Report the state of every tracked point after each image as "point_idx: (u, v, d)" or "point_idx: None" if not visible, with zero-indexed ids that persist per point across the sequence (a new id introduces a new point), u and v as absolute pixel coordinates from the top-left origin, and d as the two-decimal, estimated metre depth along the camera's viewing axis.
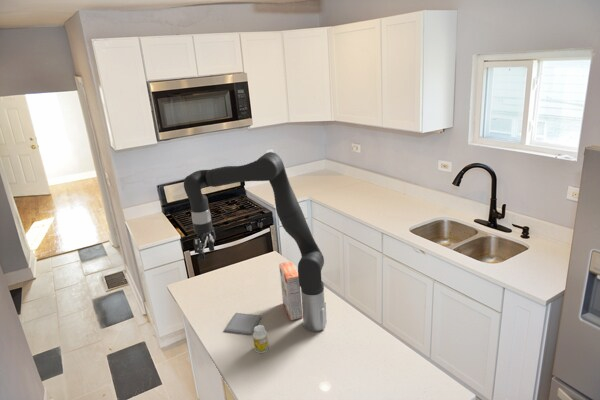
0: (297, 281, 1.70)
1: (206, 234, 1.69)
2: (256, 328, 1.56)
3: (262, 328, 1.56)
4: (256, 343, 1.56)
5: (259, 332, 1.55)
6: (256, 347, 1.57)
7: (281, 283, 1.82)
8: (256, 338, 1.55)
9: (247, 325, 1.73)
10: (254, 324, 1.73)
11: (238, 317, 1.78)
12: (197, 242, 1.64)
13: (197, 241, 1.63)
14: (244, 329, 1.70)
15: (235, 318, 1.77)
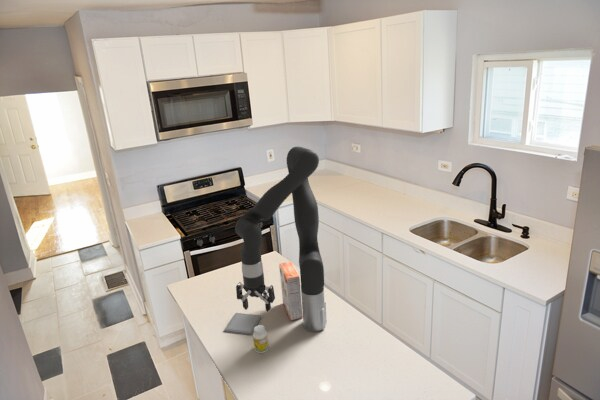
0: (297, 281, 1.70)
1: None
2: (256, 328, 1.56)
3: (262, 328, 1.56)
4: (256, 343, 1.56)
5: (259, 332, 1.55)
6: (256, 347, 1.57)
7: (281, 283, 1.82)
8: (256, 338, 1.55)
9: (247, 325, 1.73)
10: (254, 324, 1.73)
11: (238, 317, 1.78)
12: (272, 288, 1.49)
13: (272, 287, 1.49)
14: (244, 329, 1.70)
15: (235, 318, 1.77)
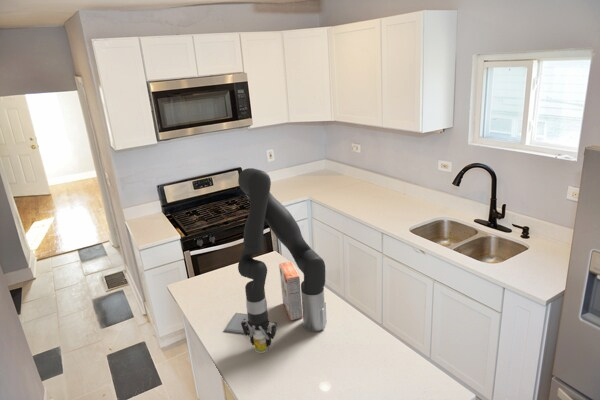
0: (297, 281, 1.70)
1: None
2: None
3: None
4: (256, 343, 1.56)
5: (259, 332, 1.55)
6: (256, 347, 1.57)
7: (281, 283, 1.82)
8: (256, 338, 1.55)
9: None
10: None
11: (238, 317, 1.78)
12: None
13: (276, 325, 1.55)
14: None
15: (235, 318, 1.77)
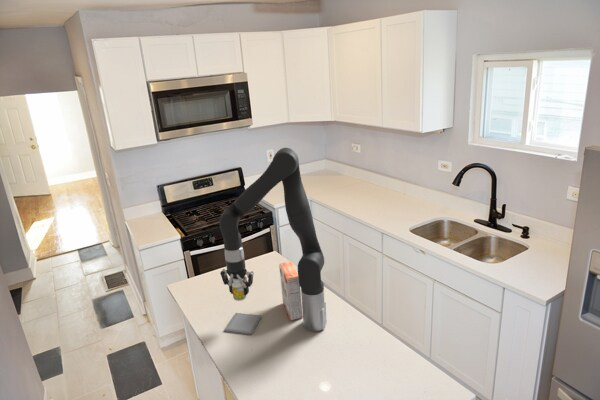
0: (297, 281, 1.70)
1: None
2: None
3: None
4: (234, 291, 1.66)
5: (237, 280, 1.65)
6: (234, 295, 1.67)
7: (281, 283, 1.82)
8: (234, 286, 1.66)
9: (247, 325, 1.73)
10: (254, 324, 1.73)
11: (238, 317, 1.78)
12: (252, 274, 1.65)
13: (252, 273, 1.65)
14: (244, 329, 1.70)
15: (235, 318, 1.77)
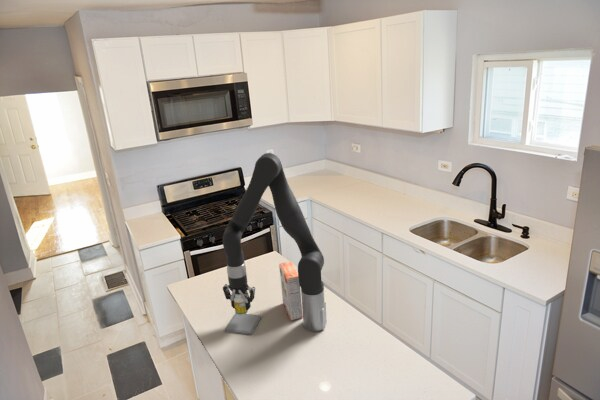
0: (297, 281, 1.70)
1: None
2: None
3: None
4: (236, 306, 1.69)
5: (239, 296, 1.68)
6: (236, 310, 1.70)
7: (281, 283, 1.82)
8: (236, 301, 1.68)
9: (247, 325, 1.73)
10: (254, 324, 1.73)
11: (238, 317, 1.78)
12: (254, 290, 1.68)
13: (254, 289, 1.68)
14: (244, 329, 1.70)
15: (235, 318, 1.77)
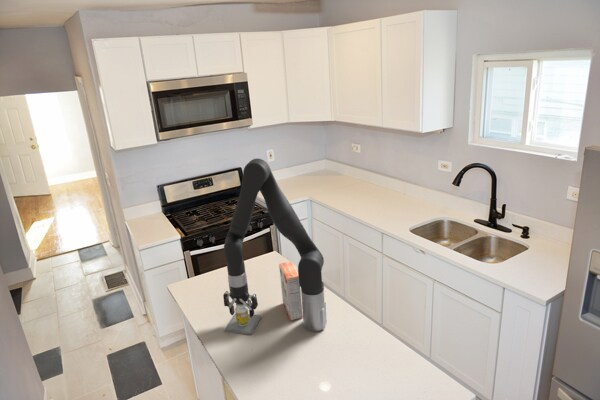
0: (297, 281, 1.70)
1: None
2: None
3: None
4: (238, 317, 1.71)
5: (240, 306, 1.70)
6: (238, 320, 1.72)
7: (281, 283, 1.82)
8: (238, 312, 1.70)
9: (247, 325, 1.73)
10: (254, 324, 1.73)
11: None
12: (255, 296, 1.69)
13: (255, 296, 1.69)
14: (244, 329, 1.70)
15: (235, 318, 1.77)
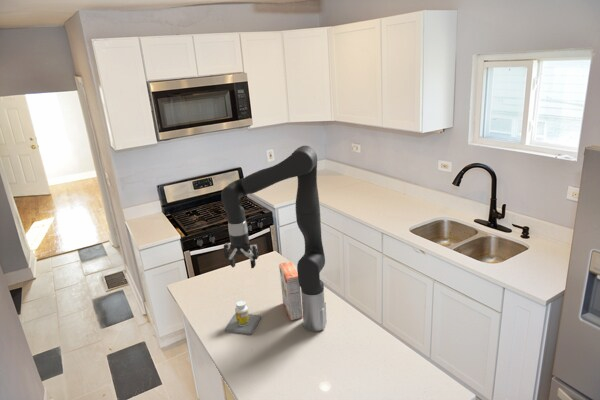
0: (297, 281, 1.70)
1: None
2: (238, 303, 1.71)
3: (244, 303, 1.71)
4: (238, 317, 1.71)
5: (240, 306, 1.70)
6: (238, 320, 1.72)
7: (281, 283, 1.82)
8: (238, 312, 1.70)
9: (247, 325, 1.73)
10: (254, 324, 1.73)
11: None
12: (256, 246, 1.66)
13: (256, 245, 1.66)
14: (244, 329, 1.70)
15: (235, 318, 1.77)
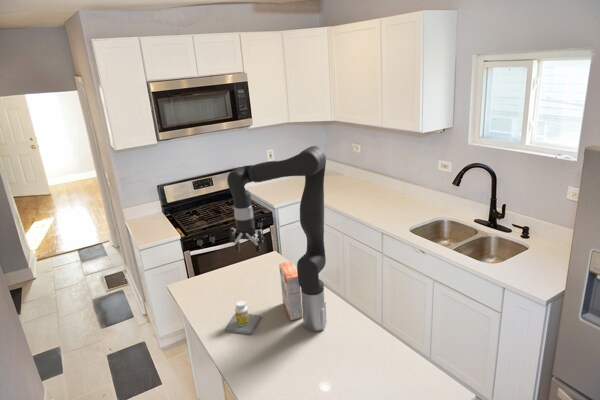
0: (297, 281, 1.70)
1: None
2: (238, 303, 1.71)
3: (244, 303, 1.71)
4: (238, 317, 1.71)
5: (240, 306, 1.70)
6: (238, 320, 1.72)
7: (281, 283, 1.82)
8: (238, 312, 1.70)
9: (247, 325, 1.73)
10: (254, 324, 1.73)
11: None
12: (262, 231, 1.68)
13: (261, 230, 1.68)
14: (244, 329, 1.70)
15: (235, 318, 1.77)
